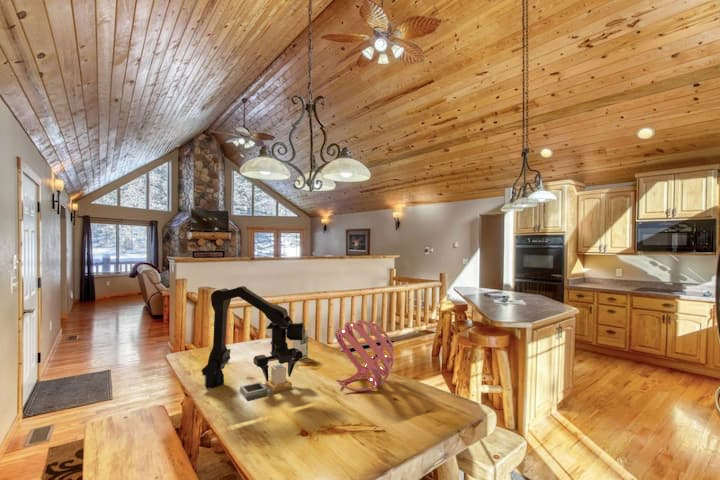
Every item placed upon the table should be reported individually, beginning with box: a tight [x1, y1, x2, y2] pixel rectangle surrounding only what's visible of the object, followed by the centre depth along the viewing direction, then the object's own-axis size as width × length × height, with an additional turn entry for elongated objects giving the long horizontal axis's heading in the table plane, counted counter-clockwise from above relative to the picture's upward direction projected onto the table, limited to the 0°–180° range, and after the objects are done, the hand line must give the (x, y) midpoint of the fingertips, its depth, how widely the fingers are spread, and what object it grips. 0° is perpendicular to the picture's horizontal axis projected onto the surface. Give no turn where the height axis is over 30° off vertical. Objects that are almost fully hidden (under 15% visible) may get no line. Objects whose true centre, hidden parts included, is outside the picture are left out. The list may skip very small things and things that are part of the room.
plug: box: [270, 364, 287, 386], centre depth 138 cm, size 4×4×8 cm
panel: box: [238, 378, 294, 402], centre depth 135 cm, size 18×12×3 cm, turn 125°
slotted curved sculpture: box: [334, 319, 395, 393], centre depth 142 cm, size 28×28×27 cm
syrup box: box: [291, 328, 309, 361], centre depth 178 cm, size 6×6×14 cm
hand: (278, 378), depth 138 cm, fingers open, 9 cm apart
